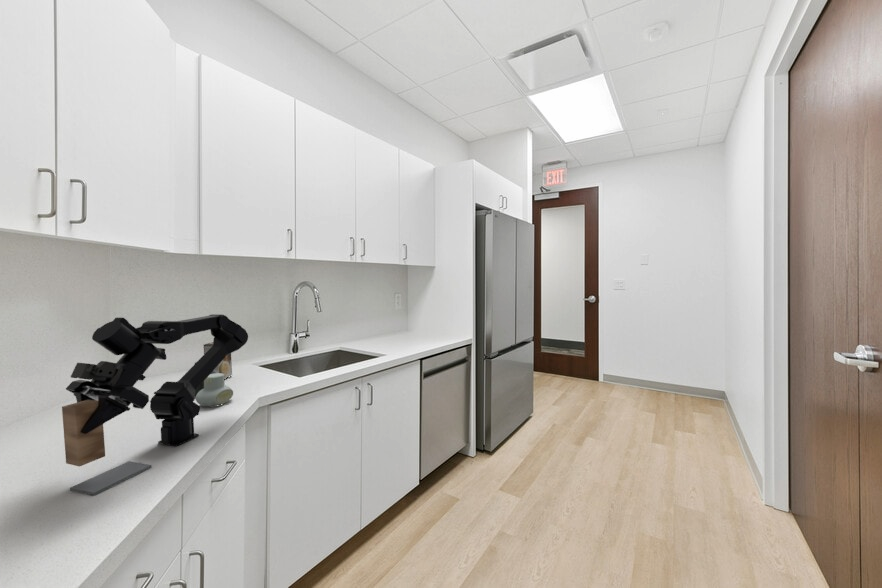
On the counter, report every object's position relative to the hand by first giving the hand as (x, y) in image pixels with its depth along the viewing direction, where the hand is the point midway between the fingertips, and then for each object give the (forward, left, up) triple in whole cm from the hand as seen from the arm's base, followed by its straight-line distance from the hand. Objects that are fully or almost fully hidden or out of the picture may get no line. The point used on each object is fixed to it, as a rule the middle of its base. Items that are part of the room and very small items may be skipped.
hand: (75, 431), depth 75 cm
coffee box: (-72, -40, -12) cm, 83 cm away
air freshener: (-47, -15, -12) cm, 51 cm away
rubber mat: (-4, +4, -11) cm, 13 cm away
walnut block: (-1, 0, -7) cm, 7 cm away
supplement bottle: (-55, -29, -12) cm, 63 cm away
